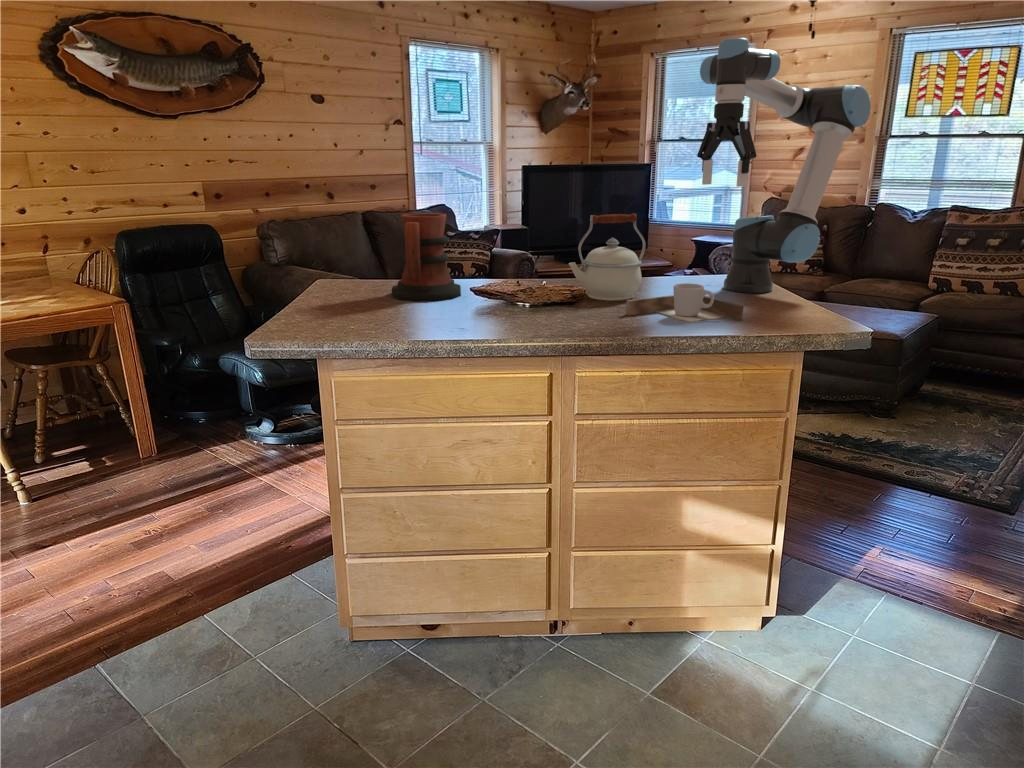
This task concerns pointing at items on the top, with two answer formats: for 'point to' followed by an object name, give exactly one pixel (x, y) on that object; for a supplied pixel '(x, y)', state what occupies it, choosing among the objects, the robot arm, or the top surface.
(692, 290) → the cup
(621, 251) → the kettle
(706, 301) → the wooden corner frame
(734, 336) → the top surface
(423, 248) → the tankard
